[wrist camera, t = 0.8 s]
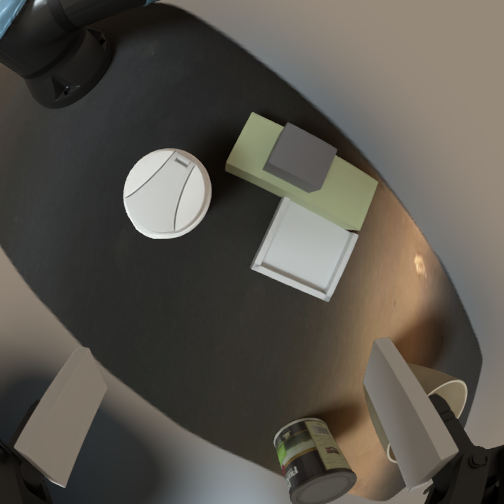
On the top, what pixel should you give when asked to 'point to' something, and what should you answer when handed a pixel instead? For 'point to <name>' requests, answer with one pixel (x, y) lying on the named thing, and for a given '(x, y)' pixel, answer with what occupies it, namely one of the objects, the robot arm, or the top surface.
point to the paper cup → (167, 193)
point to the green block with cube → (303, 203)
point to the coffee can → (312, 462)
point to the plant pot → (431, 384)
